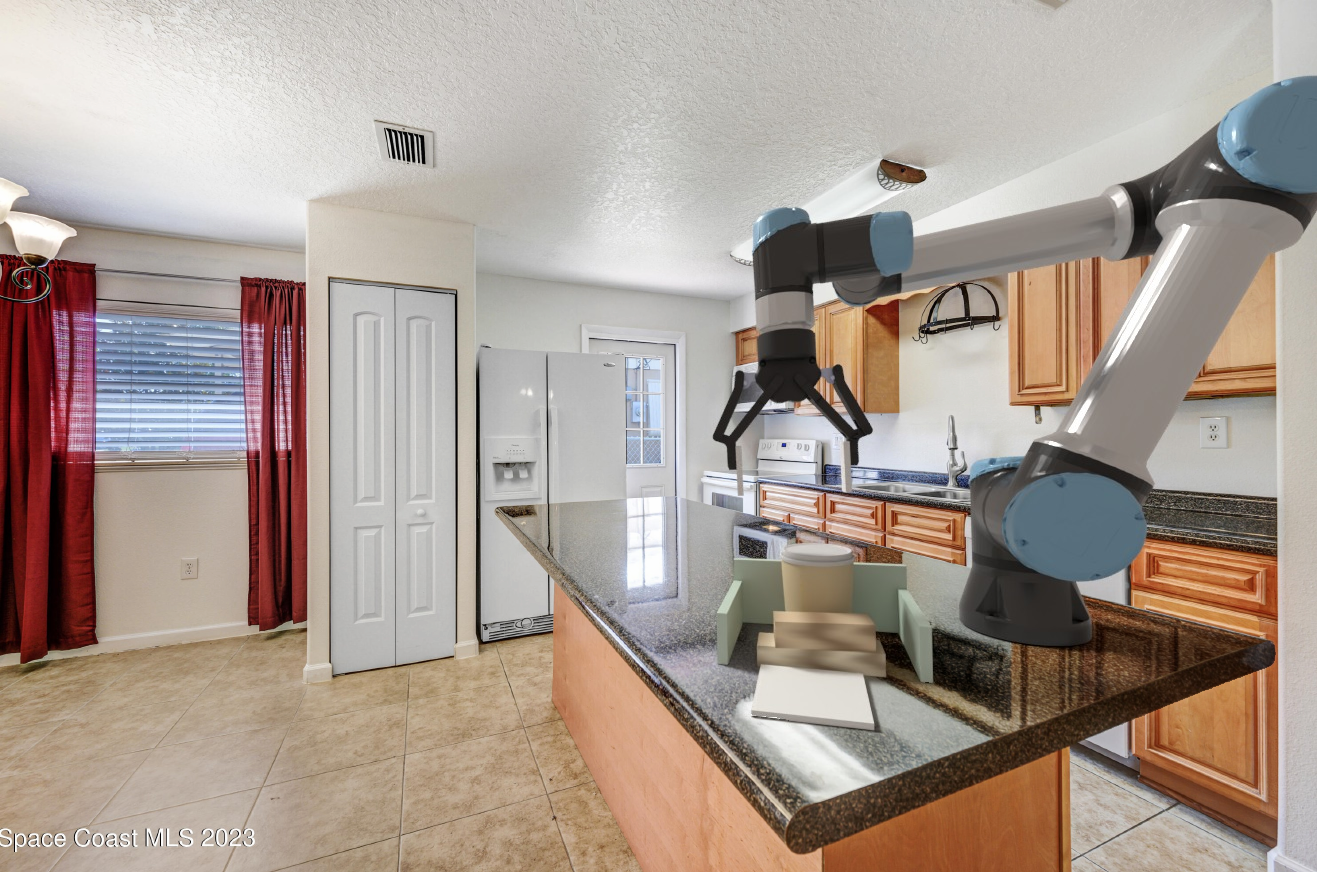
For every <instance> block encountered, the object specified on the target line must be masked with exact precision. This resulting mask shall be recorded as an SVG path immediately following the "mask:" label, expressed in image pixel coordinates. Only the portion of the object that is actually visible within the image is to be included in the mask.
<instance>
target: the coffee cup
mask: <svg viewBox="0 0 1317 872" xmlns="http://www.w3.org/2000/svg"><path fill="white" fill-rule="evenodd" d="M779 559H780V560H782V576H783V588H784V600H785V611H786V612H820V613H852V595H853V567H854V564H853V562H855V560H856V556H855V555H854V554H853V550H852V549H851V548H849V547H848V546H843V545H839V544H833V543H832V544H831V543H820V542H805V543H802V542H801V543H800V542H799V543H793V544H792V543H791V544H788V545H785V546H783V547H782V548H781V551H780V554H779Z"/></svg>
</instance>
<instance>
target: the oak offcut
mask: <svg viewBox="0 0 1317 872" xmlns="http://www.w3.org/2000/svg"><path fill="white" fill-rule="evenodd" d="M773 622H774V624H773V633H774V641H775V648H790V649H816V650H842V651H868V652H876V640H877V638H876V637H877V633H876V632H877V631H876V629H875V624H874V622H873V621H872V619H871V618H870V616H869V615H868V614H855V613H820V612H784V611H773Z"/></svg>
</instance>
